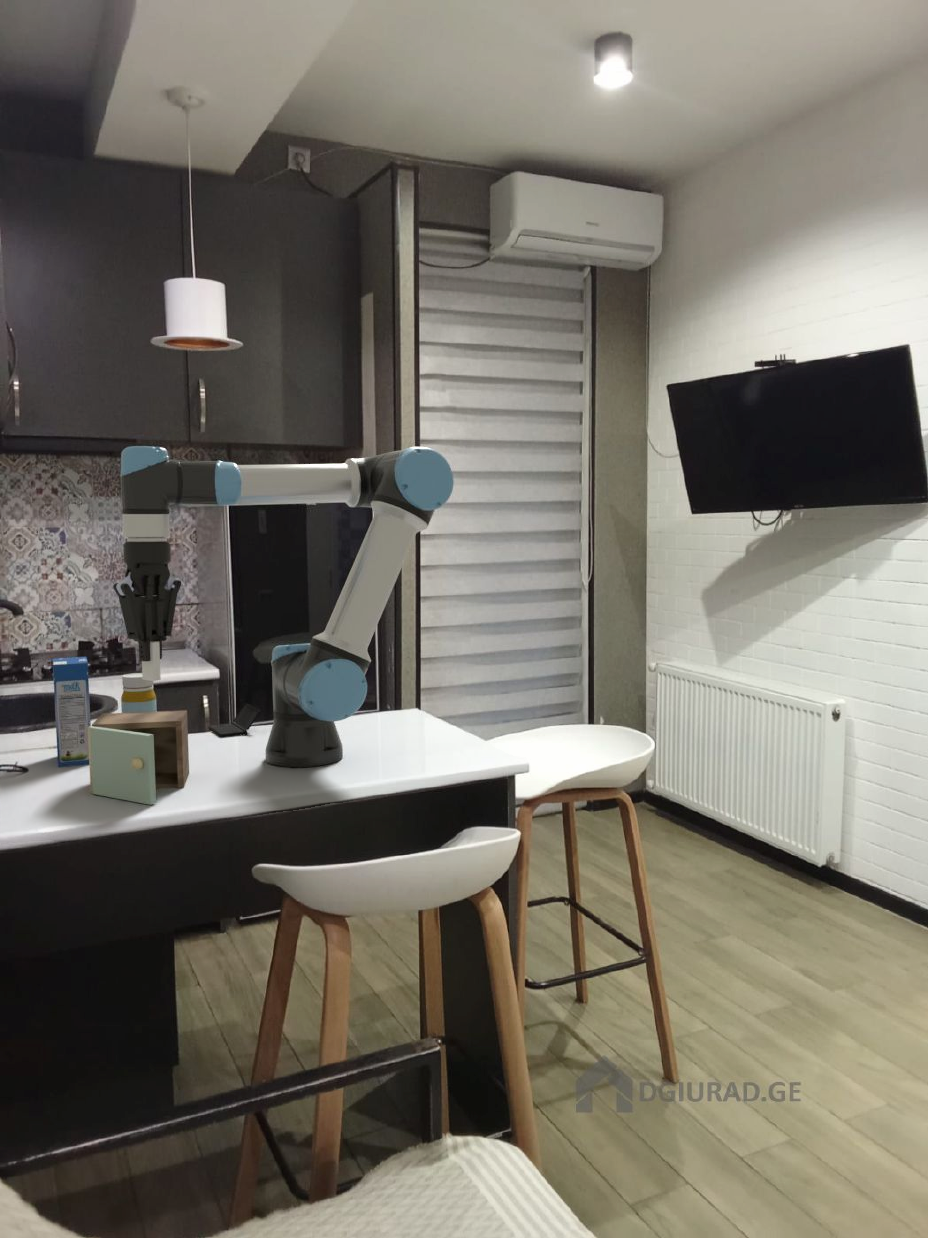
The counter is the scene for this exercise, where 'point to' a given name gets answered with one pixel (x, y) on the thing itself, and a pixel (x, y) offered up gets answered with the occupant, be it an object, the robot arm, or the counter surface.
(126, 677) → the bottle
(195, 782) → the counter surface
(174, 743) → the walnut cabinet
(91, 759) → the cabinet door
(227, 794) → the counter surface
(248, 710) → the handheld gaming console
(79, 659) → the milk carton
